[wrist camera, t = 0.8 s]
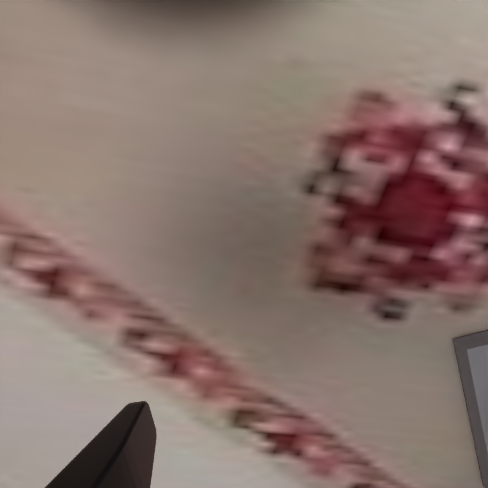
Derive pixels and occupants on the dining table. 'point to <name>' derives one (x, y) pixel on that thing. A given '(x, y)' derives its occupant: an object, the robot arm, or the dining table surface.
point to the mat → (476, 390)
